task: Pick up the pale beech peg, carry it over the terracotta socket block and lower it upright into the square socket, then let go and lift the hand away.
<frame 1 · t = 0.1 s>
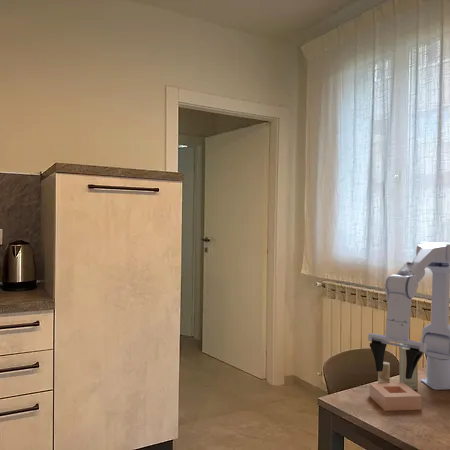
hand: (393, 374, 115), 11 cm above the table, tool pointing down, fingers open, 7 cm apart
skincare box: (408, 386, 136), on the table
socket block: (394, 402, 123), on the table
beech peg: (383, 390, 132), on the table
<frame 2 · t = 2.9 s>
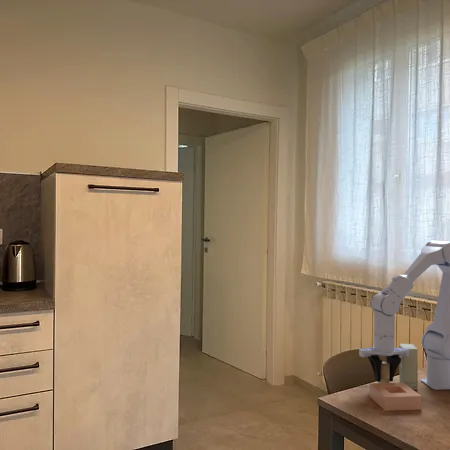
hand: (383, 380, 132), 3 cm above the table, tool pointing down, fingers closed on beech peg, 3 cm apart
beech peg: (383, 390, 132), on the table, touching gripper
everything else where it was.
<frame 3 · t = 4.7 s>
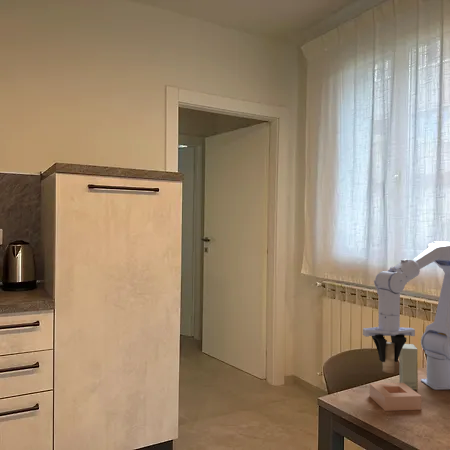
hand: (388, 360, 128), 10 cm above the table, tool pointing down, fingers closed on beech peg, 3 cm apart
beech peg: (388, 371, 128), point 7 cm above the table, touching gripper
everything else where it was.
when the fingers open (5 cm above the table, at t = 6.6 s): beech peg drops 1 cm, resting on socket block.
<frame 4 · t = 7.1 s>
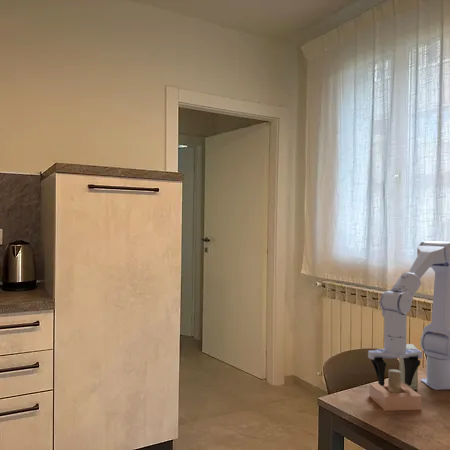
hand: (394, 384, 123), 5 cm above the table, tool pointing down, fingers open, 7 cm apart
beech peg: (394, 400, 123), point 1 cm above the table, touching socket block
everything else where it was.
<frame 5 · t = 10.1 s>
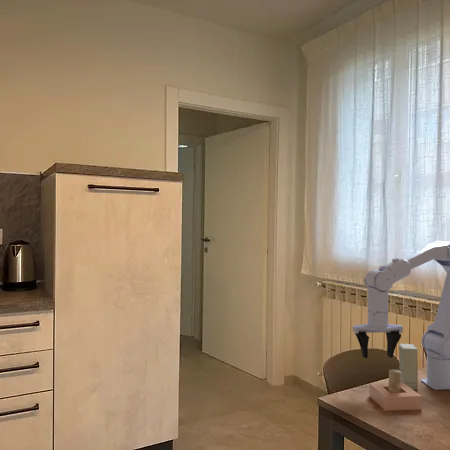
hand: (377, 356, 132), 10 cm above the table, tool pointing down, fingers open, 7 cm apart
nothing on the table moved.
at the end: beech peg 0.0 cm off-centre on the socket block, point 0.6 cm above the socket block's base; beech peg tilted 1°; the gripper is holding nothing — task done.
